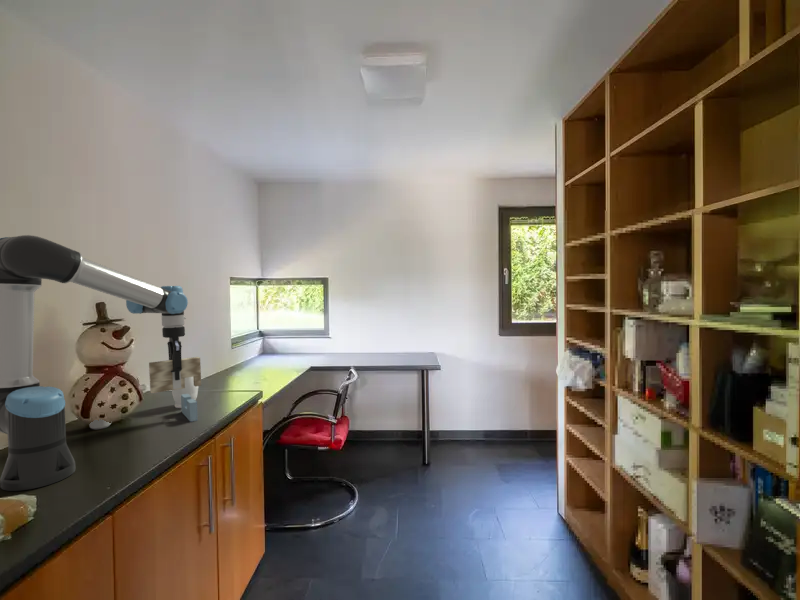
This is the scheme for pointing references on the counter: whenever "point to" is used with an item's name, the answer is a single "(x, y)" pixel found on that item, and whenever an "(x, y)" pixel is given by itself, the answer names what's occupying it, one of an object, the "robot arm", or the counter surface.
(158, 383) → the birch plate
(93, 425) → the beverage can
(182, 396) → the blue board
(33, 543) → the counter surface
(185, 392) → the jar
